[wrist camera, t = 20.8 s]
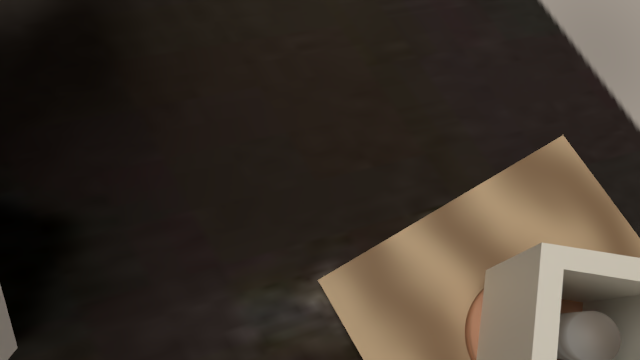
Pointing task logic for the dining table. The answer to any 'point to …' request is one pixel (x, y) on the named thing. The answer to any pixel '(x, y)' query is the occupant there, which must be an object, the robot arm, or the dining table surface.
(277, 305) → the dining table surface
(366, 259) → the post board
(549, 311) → the sleeve
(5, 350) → the robot arm
